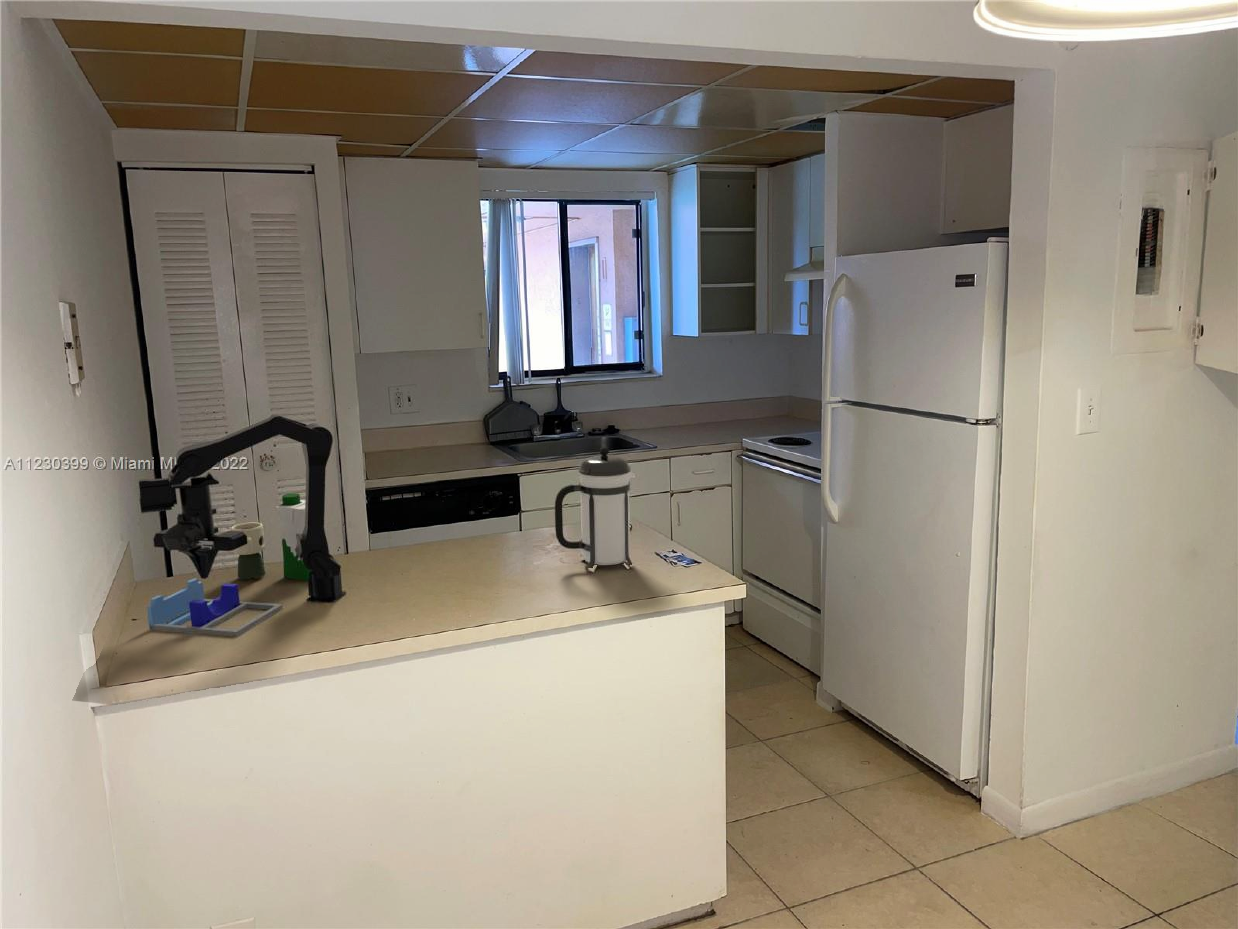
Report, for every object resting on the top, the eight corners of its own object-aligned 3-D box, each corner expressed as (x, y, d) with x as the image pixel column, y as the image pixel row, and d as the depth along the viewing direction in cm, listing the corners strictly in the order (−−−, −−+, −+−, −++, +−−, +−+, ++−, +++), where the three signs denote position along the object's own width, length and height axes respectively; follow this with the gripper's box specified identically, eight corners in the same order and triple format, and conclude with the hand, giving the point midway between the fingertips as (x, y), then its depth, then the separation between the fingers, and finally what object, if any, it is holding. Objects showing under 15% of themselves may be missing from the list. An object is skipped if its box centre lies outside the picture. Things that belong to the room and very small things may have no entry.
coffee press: (597, 551, 233) (594, 439, 227) (647, 561, 224) (646, 445, 218) (554, 569, 219) (551, 449, 213) (606, 580, 210) (604, 456, 204)
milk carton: (301, 568, 223) (294, 490, 219) (331, 571, 220) (325, 492, 216) (277, 579, 214) (270, 498, 211) (309, 582, 212) (302, 501, 208)
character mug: (269, 581, 213) (264, 529, 210) (237, 586, 210) (231, 533, 207) (265, 569, 222) (260, 519, 220) (234, 573, 219) (229, 522, 217)
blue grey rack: (282, 608, 194) (280, 581, 193) (237, 636, 179) (234, 607, 178) (200, 602, 199) (198, 576, 197) (149, 629, 183) (146, 601, 182)
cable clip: (222, 608, 195) (219, 583, 194) (240, 610, 195) (237, 584, 193) (185, 629, 184) (182, 602, 183) (204, 630, 183) (201, 603, 182)
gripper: (129, 514, 179) (138, 588, 182) (210, 518, 175) (218, 593, 178) (168, 501, 189) (176, 571, 193) (245, 504, 185) (252, 576, 189)
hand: (204, 578), depth 188 cm, fingers closed
